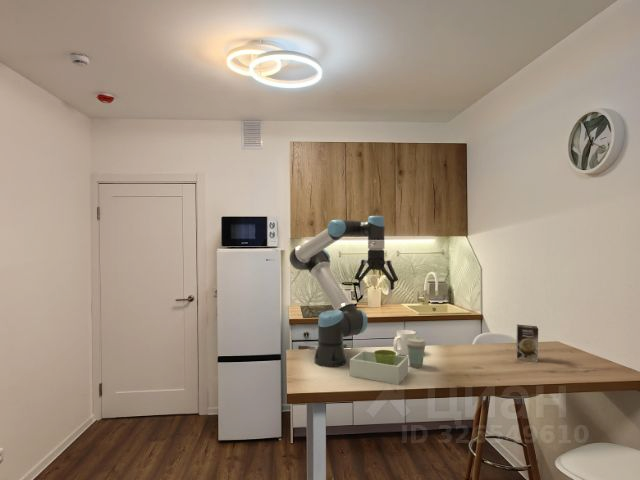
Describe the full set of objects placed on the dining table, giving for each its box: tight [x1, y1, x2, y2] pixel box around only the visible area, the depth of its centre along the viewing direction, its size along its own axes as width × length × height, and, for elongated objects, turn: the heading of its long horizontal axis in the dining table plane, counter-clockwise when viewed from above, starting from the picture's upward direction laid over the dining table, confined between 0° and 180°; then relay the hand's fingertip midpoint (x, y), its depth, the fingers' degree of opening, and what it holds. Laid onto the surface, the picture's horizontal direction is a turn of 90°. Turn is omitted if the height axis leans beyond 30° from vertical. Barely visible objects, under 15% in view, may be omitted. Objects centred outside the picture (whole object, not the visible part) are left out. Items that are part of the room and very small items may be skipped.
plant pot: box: [373, 349, 397, 365], centre depth 170 cm, size 9×9×9 cm
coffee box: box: [515, 324, 539, 363], centre depth 195 cm, size 9×6×16 cm
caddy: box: [349, 350, 409, 385], centre depth 171 cm, size 21×15×7 cm
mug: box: [392, 329, 418, 356], centre depth 203 cm, size 14×10×11 cm
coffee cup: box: [407, 337, 426, 369], centre depth 183 cm, size 8×8×12 cm
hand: (375, 295), depth 185 cm, fingers open, 13 cm apart
